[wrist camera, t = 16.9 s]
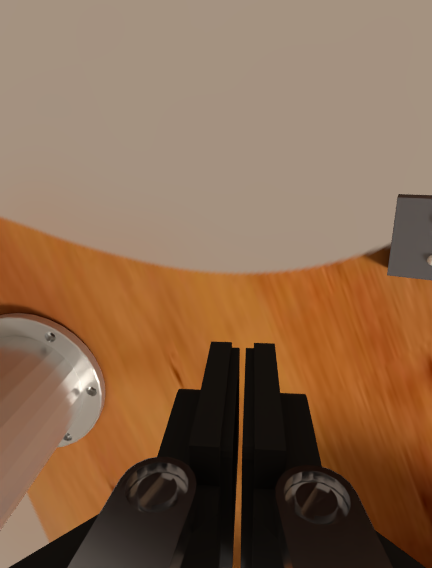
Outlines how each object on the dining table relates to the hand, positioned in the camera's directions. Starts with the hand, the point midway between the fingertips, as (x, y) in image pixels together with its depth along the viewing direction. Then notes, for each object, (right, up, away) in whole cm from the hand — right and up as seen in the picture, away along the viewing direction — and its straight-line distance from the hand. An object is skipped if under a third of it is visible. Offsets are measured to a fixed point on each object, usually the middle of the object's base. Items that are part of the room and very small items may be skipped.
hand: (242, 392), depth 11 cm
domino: (+11, +6, +15) cm, 20 cm away
